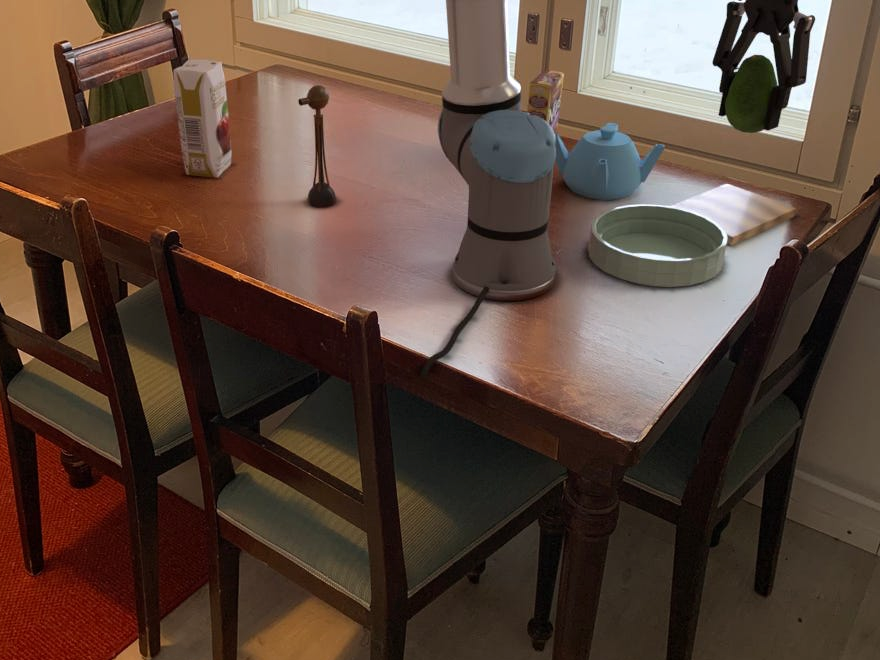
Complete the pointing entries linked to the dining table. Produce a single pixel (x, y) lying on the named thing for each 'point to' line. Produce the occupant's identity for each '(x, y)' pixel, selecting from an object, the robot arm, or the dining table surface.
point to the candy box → (546, 97)
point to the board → (738, 211)
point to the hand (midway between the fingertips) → (747, 120)
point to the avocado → (751, 94)
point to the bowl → (657, 245)
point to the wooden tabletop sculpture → (319, 150)
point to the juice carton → (203, 117)
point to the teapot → (604, 164)
